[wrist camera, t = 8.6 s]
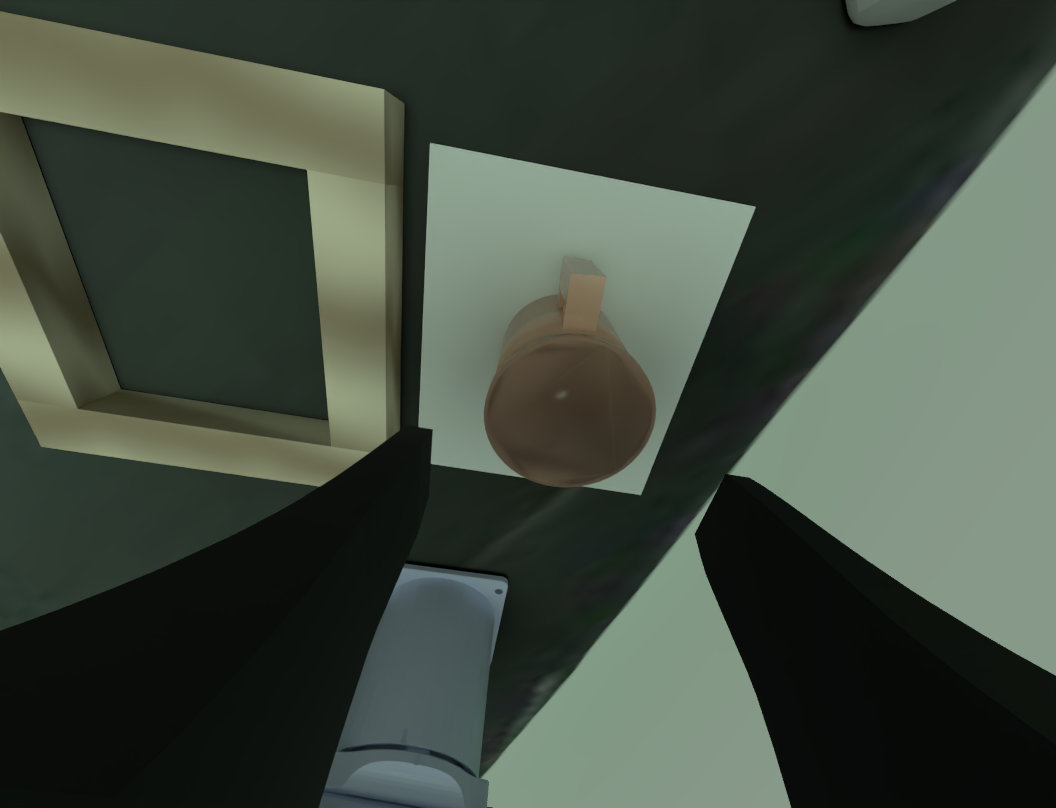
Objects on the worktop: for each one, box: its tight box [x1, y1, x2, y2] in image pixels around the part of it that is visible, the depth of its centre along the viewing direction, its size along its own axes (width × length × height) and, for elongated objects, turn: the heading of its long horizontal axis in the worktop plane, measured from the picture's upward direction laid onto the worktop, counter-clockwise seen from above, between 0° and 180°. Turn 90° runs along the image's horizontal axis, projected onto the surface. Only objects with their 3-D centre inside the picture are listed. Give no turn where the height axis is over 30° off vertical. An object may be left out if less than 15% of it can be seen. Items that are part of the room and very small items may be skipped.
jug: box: [484, 257, 656, 487], centre depth 14 cm, size 5×7×6 cm
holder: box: [0, 11, 405, 486], centre depth 16 cm, size 16×16×2 cm
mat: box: [419, 143, 756, 495], centre depth 17 cm, size 14×12×1 cm
